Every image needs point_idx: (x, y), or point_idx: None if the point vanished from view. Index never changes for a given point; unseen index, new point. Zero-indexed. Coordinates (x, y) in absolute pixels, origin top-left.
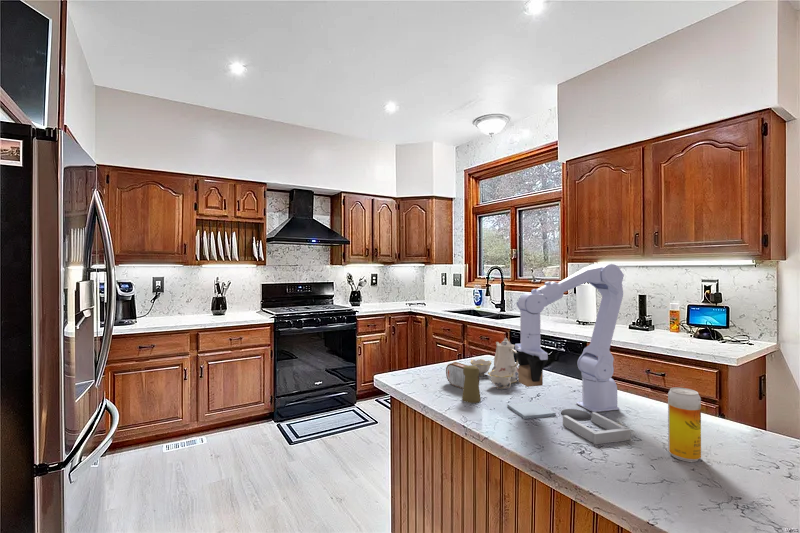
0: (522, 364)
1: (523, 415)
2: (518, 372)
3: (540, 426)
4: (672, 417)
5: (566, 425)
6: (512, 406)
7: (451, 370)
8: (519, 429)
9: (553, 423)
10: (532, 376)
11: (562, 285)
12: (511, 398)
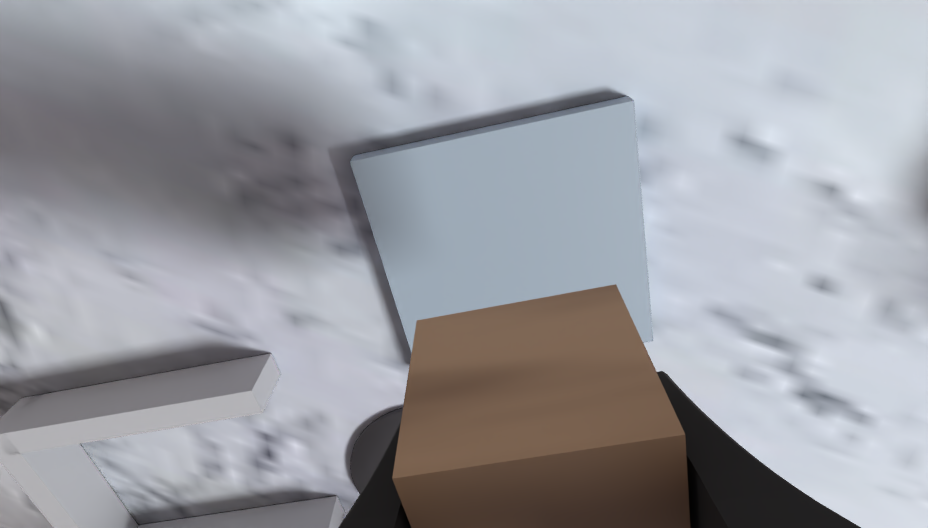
0: (702, 504)
1: (371, 157)
2: (645, 357)
3: (224, 216)
4: None
5: (235, 364)
6: (575, 130)
7: None
8: (136, 42)
9: (288, 311)
10: (385, 452)
11: None
12: (823, 196)
